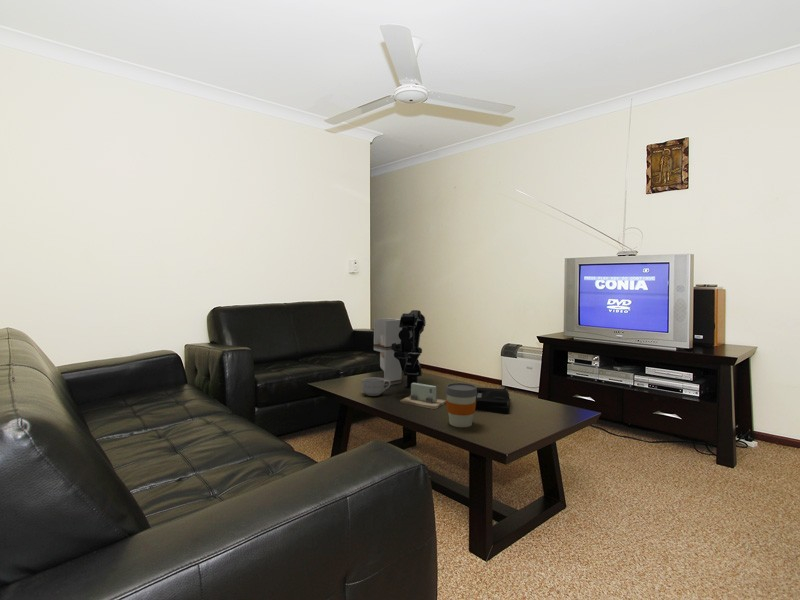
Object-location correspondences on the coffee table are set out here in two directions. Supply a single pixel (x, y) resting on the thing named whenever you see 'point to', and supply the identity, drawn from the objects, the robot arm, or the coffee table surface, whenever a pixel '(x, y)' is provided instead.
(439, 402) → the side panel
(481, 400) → the gaming console
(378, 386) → the teacup
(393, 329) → the white stacked tower
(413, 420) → the coffee table surface
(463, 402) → the reusable coffee cup
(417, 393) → the door slab
